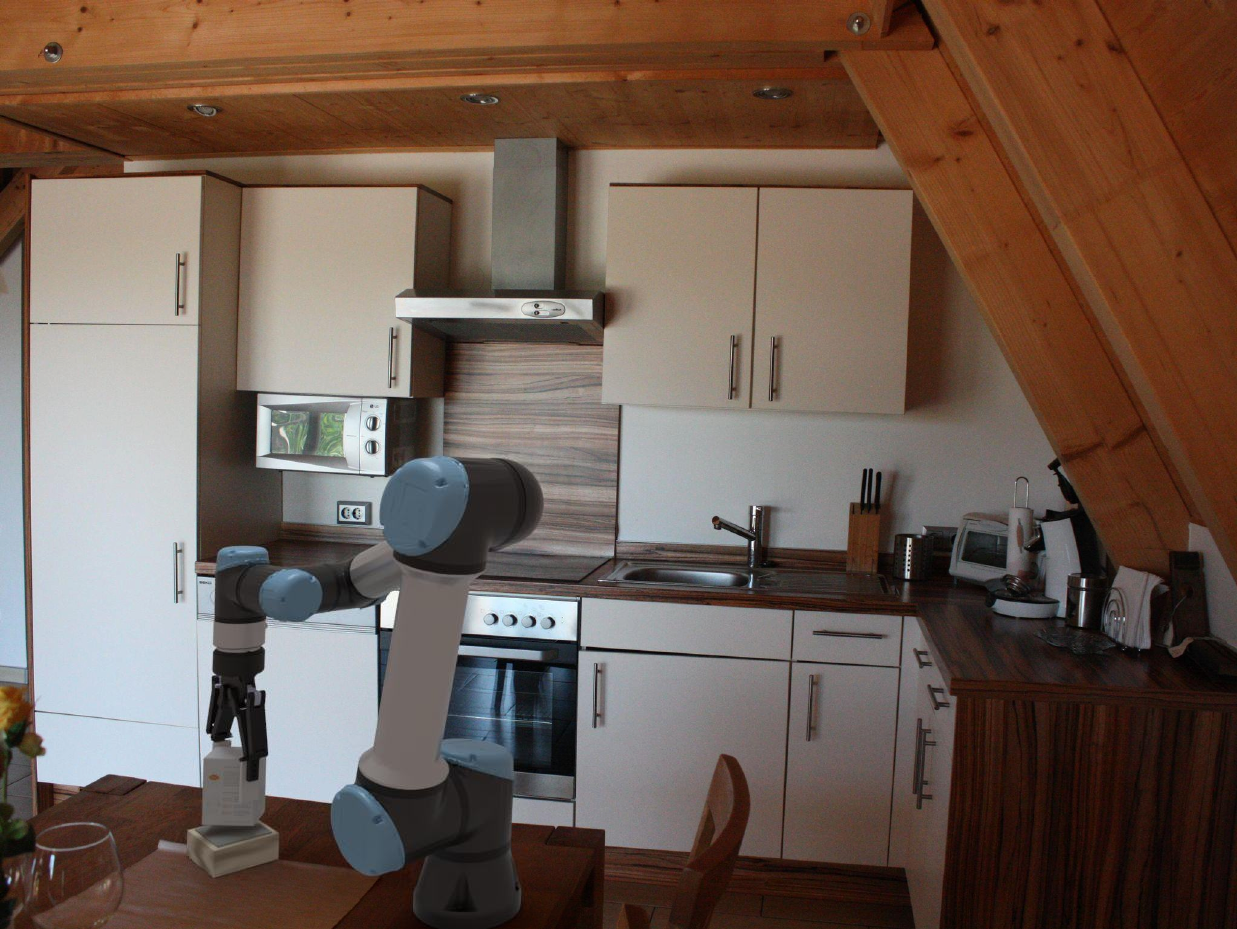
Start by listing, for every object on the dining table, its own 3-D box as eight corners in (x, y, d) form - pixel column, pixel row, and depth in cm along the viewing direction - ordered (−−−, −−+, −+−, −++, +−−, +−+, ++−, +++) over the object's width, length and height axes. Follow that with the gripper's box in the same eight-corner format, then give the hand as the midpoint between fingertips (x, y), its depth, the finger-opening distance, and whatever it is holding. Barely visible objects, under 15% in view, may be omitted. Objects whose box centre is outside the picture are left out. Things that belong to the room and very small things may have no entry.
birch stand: (278, 859, 149) (279, 831, 149) (213, 877, 142) (214, 849, 142) (249, 838, 156) (250, 812, 156) (186, 855, 149) (187, 828, 149)
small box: (265, 812, 152) (268, 746, 152) (253, 827, 147) (256, 758, 146) (213, 810, 152) (216, 744, 152) (200, 825, 146) (202, 757, 146)
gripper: (296, 657, 144) (290, 806, 144) (232, 632, 159) (227, 767, 159) (247, 664, 138) (241, 819, 139) (186, 637, 154) (181, 777, 154)
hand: (234, 791), depth 149 cm, fingers closed on small box, 9 cm apart
